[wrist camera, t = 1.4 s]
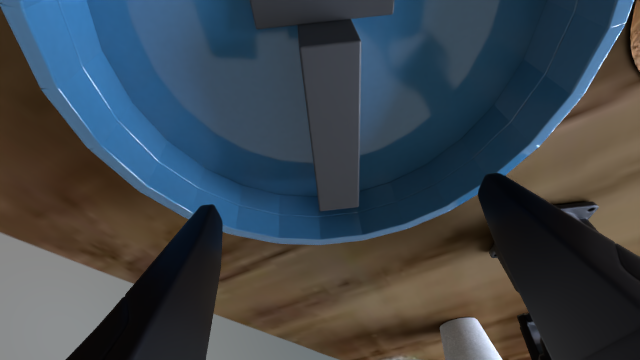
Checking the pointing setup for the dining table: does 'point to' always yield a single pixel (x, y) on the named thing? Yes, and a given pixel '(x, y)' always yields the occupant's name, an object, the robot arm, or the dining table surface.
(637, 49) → the plate of food
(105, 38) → the bowl
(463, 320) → the house plant
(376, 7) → the spatula
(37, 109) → the dining table surface
